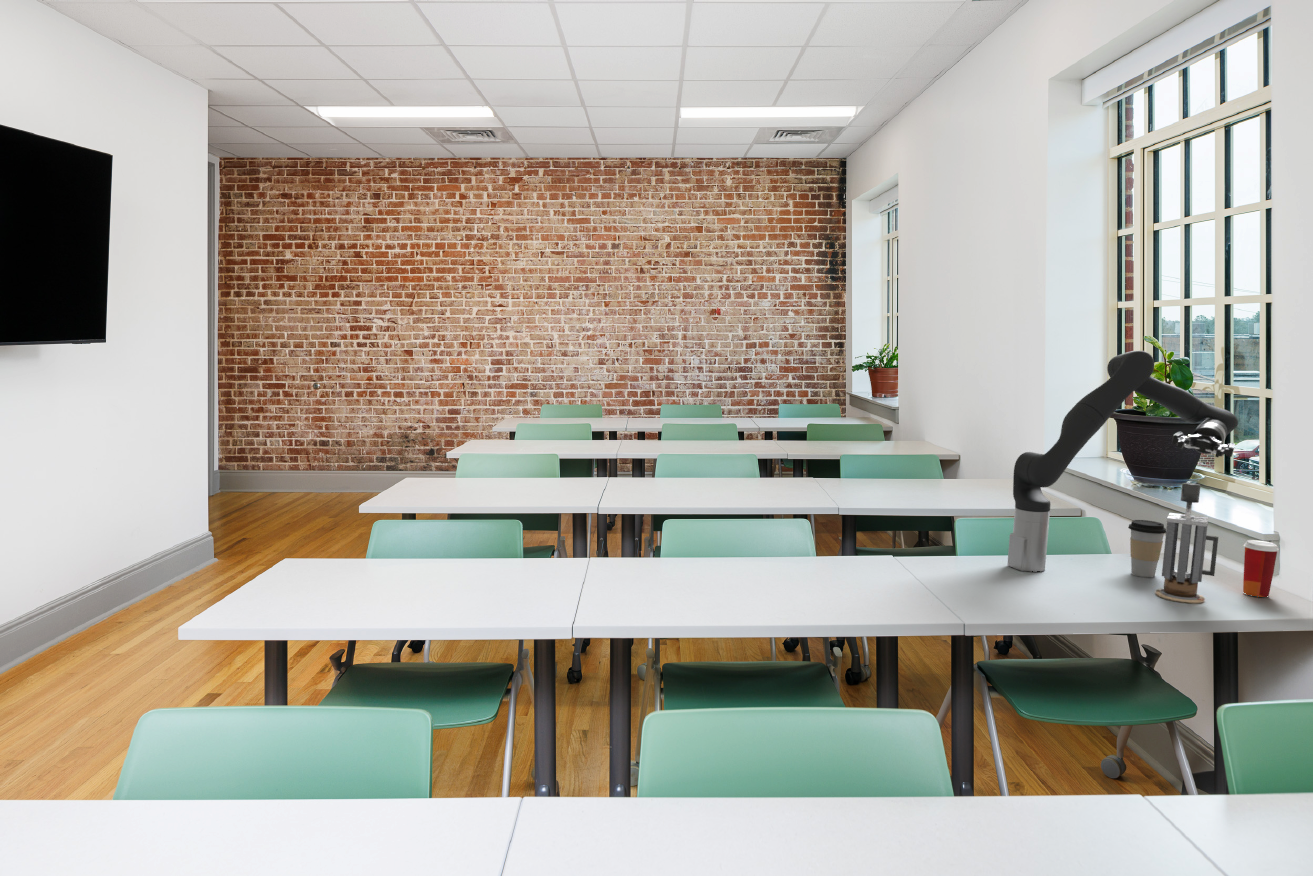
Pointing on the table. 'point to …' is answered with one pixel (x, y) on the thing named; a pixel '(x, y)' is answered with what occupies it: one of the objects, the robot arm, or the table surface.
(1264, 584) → the paper cup
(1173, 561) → the press frame
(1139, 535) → the coffee cup
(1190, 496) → the plunger
